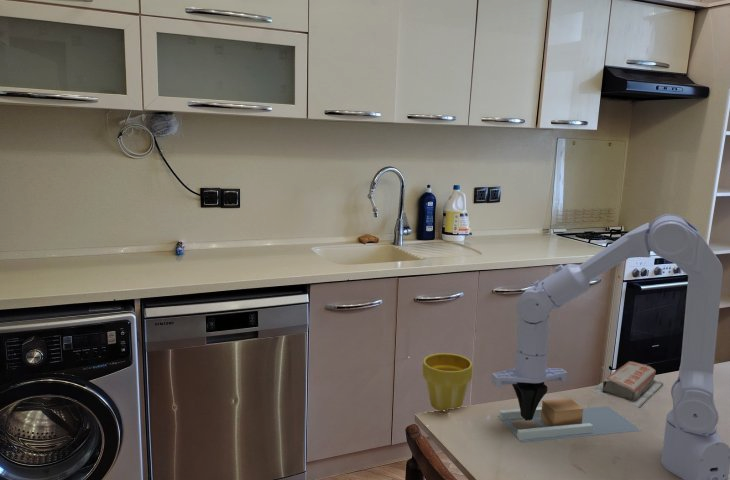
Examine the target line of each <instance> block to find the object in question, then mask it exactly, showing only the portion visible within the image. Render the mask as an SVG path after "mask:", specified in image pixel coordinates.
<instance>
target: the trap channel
mask: <svg viewBox="0 0 730 480" xmlns="http://www.w3.org/2000/svg"><path fill="white" fill-rule="evenodd" d="M582 408H583V417H582V424H574V425H563V426H553V427H549V426H548V425H547V424H546V423H544V422H543V421H542V420H541V413H542V406H537V408H536V411H535V413H534V416H533V419H532V420H533V421H535V423H537V425H538V426H539V427H533V428H524V429H523V428H522V429H521V428H520V429H518V428H517V427H516V426H515V425H514V423H512V421H511V420H517V419H519V420H522V419H524V418H523V417H522V416H521V412H520V408H515V409H504V410H503V409H500V410H499V415H497V417H498V418H499V419H500V421H501V422H502V423H503V424H504V425H505V426H506V427H507V428H508V429H509V430H510V431H511V433H512V434H513V435H514V436H515V437H516V438H517V439H518V440H519V442H520V443H531V442H538V441H539V442H540V441H549V440H561V439H569V438H578V437H579V438H581V437H591V436H592V437H593V436H603V435H612V434H622V433H631V432H632V433H633V432H641V431H642V429H640V428H638V427H637V426H636V425H635V424H634V423H631V422H630V421H629V420H628V419H626V417H623V416H622V415H621V414H620V413H618V412H617V411H615V410H614V409H613V408H611V407H610V406H609V405H606V406H595V407H582Z"/></svg>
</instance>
